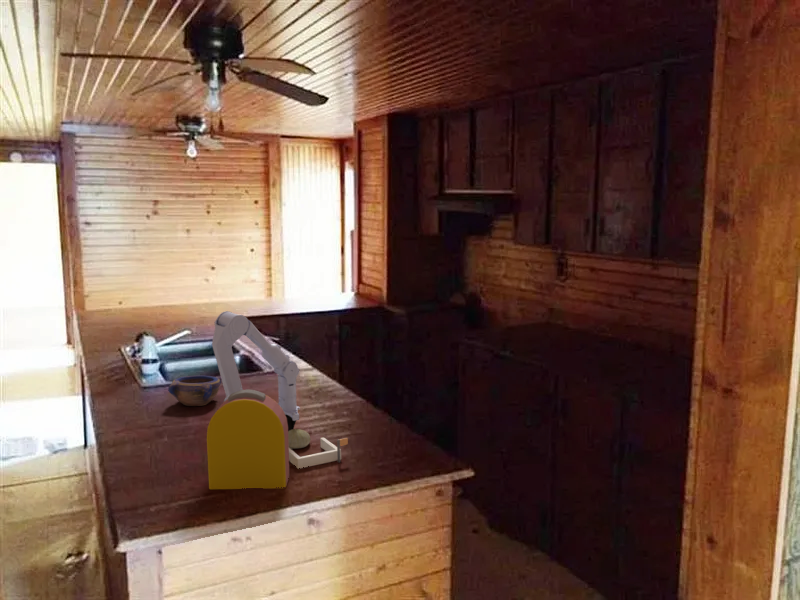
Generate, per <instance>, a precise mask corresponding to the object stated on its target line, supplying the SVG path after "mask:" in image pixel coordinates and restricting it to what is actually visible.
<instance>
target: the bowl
mask: <svg viewBox="0 0 800 600" xmlns="http://www.w3.org/2000/svg"><path fill="white" fill-rule="evenodd" d="M221 384H222V379H221V378H218V377H217V376H211V375H189V376H188V375H187V376H181V377H178V378H175V379H173V381H172V383H170V384H169V385H168V390H167V391H168V392H169V394H171V395H172V396H173V397H174V398H175V399H176V400H177V401H178V402H179V403H181V404H183V406H187V407H201V406H206V405H207V404H209V403H211V402H212V400H214V398H215V397H216V396H217V395H218V392H219V389H220V385H221Z"/></svg>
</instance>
